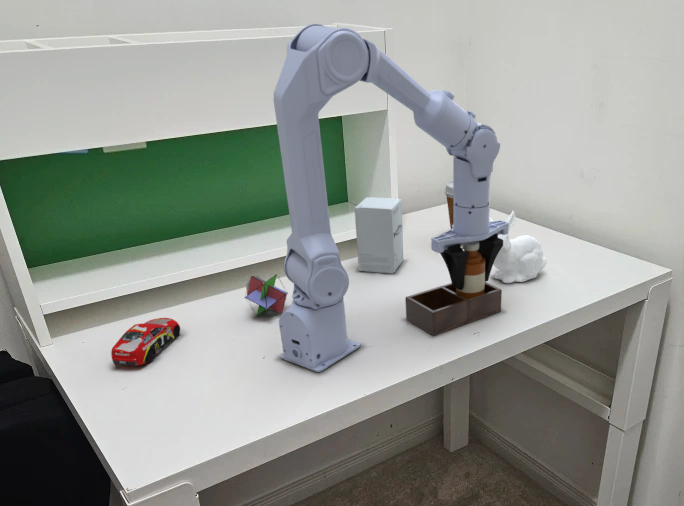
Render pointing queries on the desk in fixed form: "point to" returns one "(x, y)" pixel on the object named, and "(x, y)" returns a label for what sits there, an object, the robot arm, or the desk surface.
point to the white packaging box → (379, 234)
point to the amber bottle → (473, 272)
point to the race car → (144, 341)
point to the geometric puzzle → (265, 294)
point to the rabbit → (518, 256)
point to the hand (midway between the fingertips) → (470, 283)
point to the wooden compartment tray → (450, 308)
